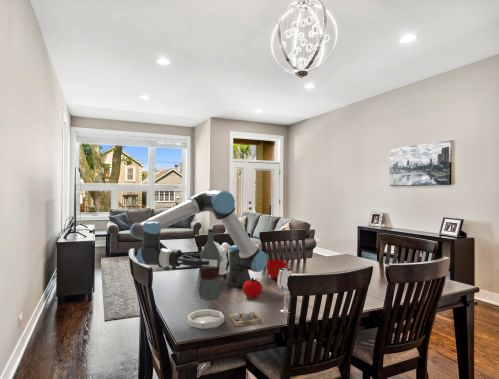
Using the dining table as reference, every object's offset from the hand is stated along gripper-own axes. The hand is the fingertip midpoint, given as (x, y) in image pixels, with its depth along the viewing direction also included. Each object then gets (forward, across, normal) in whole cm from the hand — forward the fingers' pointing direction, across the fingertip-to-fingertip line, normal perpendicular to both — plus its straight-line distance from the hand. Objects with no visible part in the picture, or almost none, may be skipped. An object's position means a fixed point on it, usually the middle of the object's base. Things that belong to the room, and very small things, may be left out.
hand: (219, 260), depth 148 cm
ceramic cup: (+20, -73, -26) cm, 80 cm away
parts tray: (+11, -1, -26) cm, 28 cm away
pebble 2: (+12, +1, -25) cm, 28 cm away
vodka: (-4, 0, -17) cm, 17 cm away
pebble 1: (+8, 0, -25) cm, 27 cm away
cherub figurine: (-18, -75, -26) cm, 81 cm away
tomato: (+10, -33, -26) cm, 43 cm away
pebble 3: (+14, -3, -25) cm, 29 cm away
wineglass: (+28, -16, -26) cm, 41 cm away
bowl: (-5, +3, -26) cm, 27 cm away
